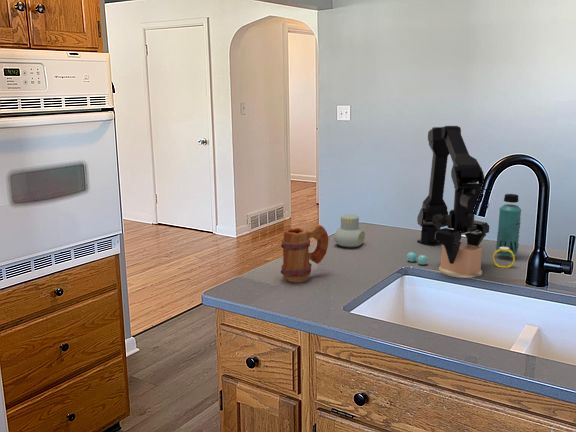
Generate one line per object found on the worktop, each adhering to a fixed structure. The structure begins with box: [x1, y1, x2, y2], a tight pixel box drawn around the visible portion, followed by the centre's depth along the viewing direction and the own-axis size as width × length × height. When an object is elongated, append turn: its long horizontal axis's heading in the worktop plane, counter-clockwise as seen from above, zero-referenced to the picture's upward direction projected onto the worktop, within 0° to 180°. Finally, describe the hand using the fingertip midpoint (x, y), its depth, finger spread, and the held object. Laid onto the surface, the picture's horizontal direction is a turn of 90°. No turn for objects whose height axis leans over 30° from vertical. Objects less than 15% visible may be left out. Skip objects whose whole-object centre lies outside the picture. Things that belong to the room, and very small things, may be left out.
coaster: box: [438, 265, 483, 279], centre depth 167 cm, size 12×12×1 cm
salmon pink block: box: [440, 242, 483, 276], centre depth 166 cm, size 6×9×7 cm
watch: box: [492, 247, 516, 269], centre depth 170 cm, size 6×3×6 cm, turn 71°
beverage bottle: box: [495, 193, 522, 257], centre depth 177 cm, size 6×7×20 cm
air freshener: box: [333, 214, 366, 248], centre depth 193 cm, size 11×8×10 cm
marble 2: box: [416, 254, 428, 266], centre depth 173 cm, size 3×3×3 cm
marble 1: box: [406, 251, 418, 263], centre depth 176 cm, size 3×3×3 cm
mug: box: [280, 223, 329, 284], centre depth 160 cm, size 15×8×15 cm, turn 117°
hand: (460, 260), depth 166 cm, fingers open, 9 cm apart
